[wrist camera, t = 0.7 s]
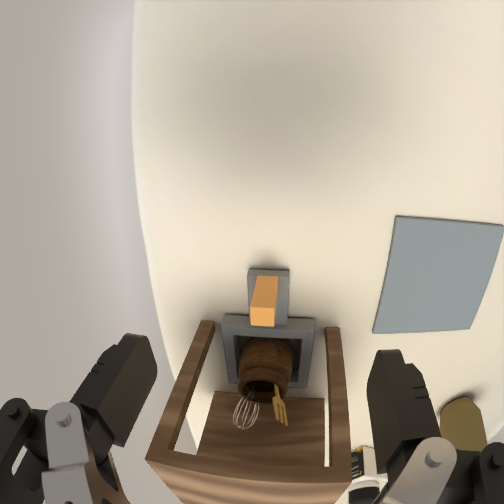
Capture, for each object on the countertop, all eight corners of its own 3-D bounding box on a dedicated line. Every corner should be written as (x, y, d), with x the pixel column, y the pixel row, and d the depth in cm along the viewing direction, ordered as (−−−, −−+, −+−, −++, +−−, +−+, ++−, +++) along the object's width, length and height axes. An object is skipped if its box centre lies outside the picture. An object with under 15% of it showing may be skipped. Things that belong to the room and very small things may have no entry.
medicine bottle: (362, 445, 45) (365, 499, 35) (386, 450, 46) (390, 500, 35) (337, 458, 48) (337, 508, 38) (361, 463, 49) (363, 510, 39)
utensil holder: (234, 343, 36) (212, 425, 25) (272, 319, 33) (259, 408, 23) (266, 369, 37) (254, 449, 27) (305, 348, 35) (302, 434, 24)
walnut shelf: (201, 320, 35) (144, 459, 19) (339, 327, 33) (352, 482, 16) (215, 396, 42) (185, 505, 26) (322, 404, 40) (320, 519, 23)
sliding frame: (220, 267, 31) (203, 303, 25) (319, 271, 29) (322, 309, 24) (231, 371, 38) (222, 408, 33) (306, 376, 37) (305, 414, 31)
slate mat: (395, 216, 26) (396, 217, 26) (502, 225, 24) (504, 227, 24) (372, 330, 32) (372, 333, 32) (468, 326, 30) (469, 329, 30)
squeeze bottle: (428, 421, 40) (444, 506, 25) (445, 395, 37) (469, 489, 21) (463, 414, 39) (483, 493, 23) (481, 388, 36) (510, 473, 20)
